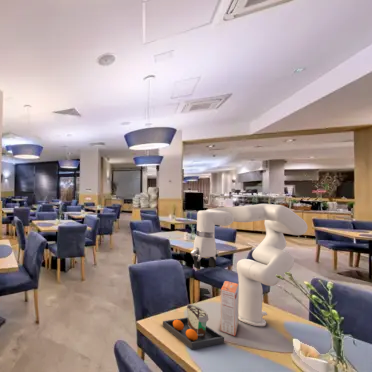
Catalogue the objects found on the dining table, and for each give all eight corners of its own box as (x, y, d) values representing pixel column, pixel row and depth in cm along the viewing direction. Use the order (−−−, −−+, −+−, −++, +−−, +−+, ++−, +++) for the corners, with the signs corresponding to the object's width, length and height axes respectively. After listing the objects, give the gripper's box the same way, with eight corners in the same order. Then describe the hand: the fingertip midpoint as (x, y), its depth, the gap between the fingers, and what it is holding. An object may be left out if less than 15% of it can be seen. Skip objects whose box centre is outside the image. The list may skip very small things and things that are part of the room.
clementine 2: (191, 335, 107) (191, 326, 107) (200, 342, 103) (200, 332, 103) (183, 337, 106) (183, 327, 106) (191, 344, 102) (192, 333, 102)
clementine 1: (178, 326, 115) (178, 317, 115) (186, 332, 110) (186, 322, 110) (170, 327, 113) (170, 318, 113) (178, 333, 109) (178, 323, 109)
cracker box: (223, 319, 122) (224, 280, 122) (238, 324, 118) (239, 283, 118) (219, 330, 112) (220, 288, 112) (235, 336, 108) (236, 292, 108)
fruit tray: (191, 321, 120) (192, 316, 120) (224, 343, 104) (224, 337, 104) (162, 326, 115) (162, 321, 115) (191, 349, 99) (191, 343, 99)
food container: (213, 341, 104) (214, 319, 104) (198, 339, 105) (199, 317, 105) (199, 324, 116) (200, 305, 116) (186, 323, 117) (186, 303, 117)
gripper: (211, 232, 125) (210, 263, 125) (185, 233, 121) (185, 266, 121) (225, 235, 118) (224, 268, 118) (198, 236, 114) (197, 271, 114)
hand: (204, 267), depth 120 cm, fingers open, 9 cm apart
